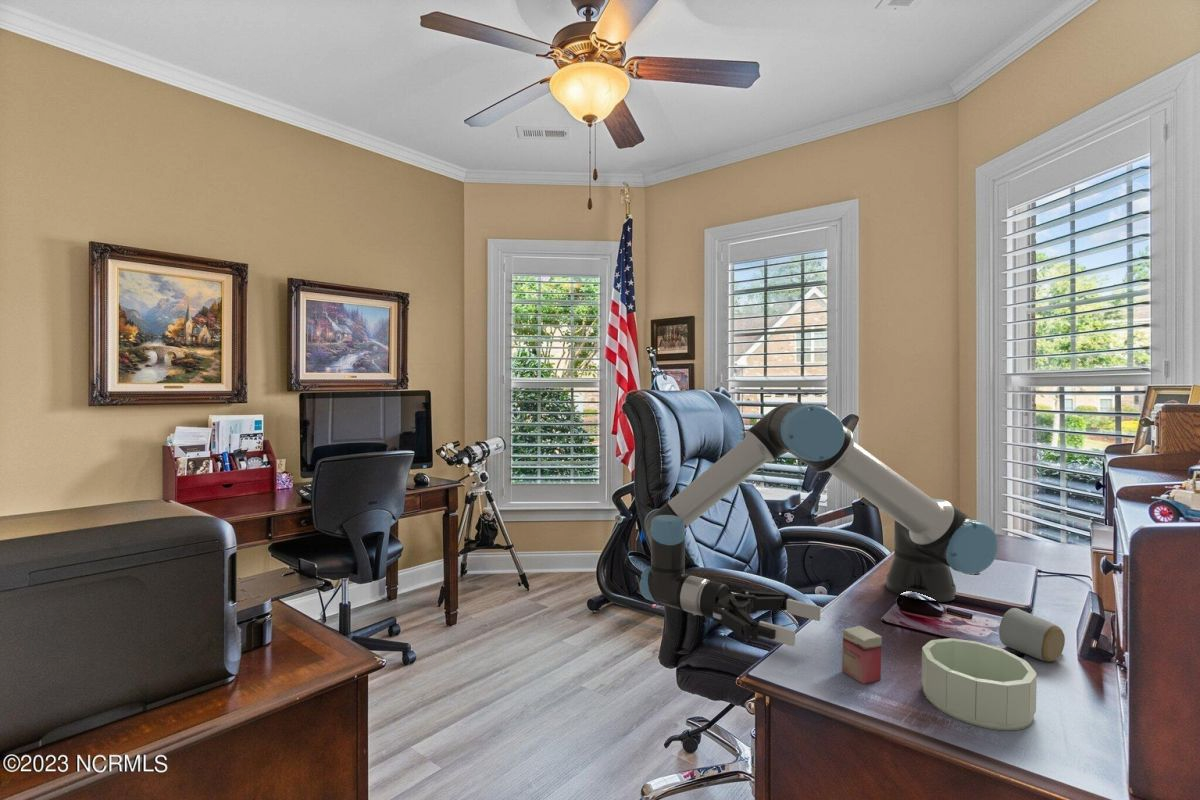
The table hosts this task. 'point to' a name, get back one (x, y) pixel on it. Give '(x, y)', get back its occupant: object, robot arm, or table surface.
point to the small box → (862, 654)
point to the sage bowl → (979, 684)
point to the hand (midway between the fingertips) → (808, 625)
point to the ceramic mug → (1031, 635)
